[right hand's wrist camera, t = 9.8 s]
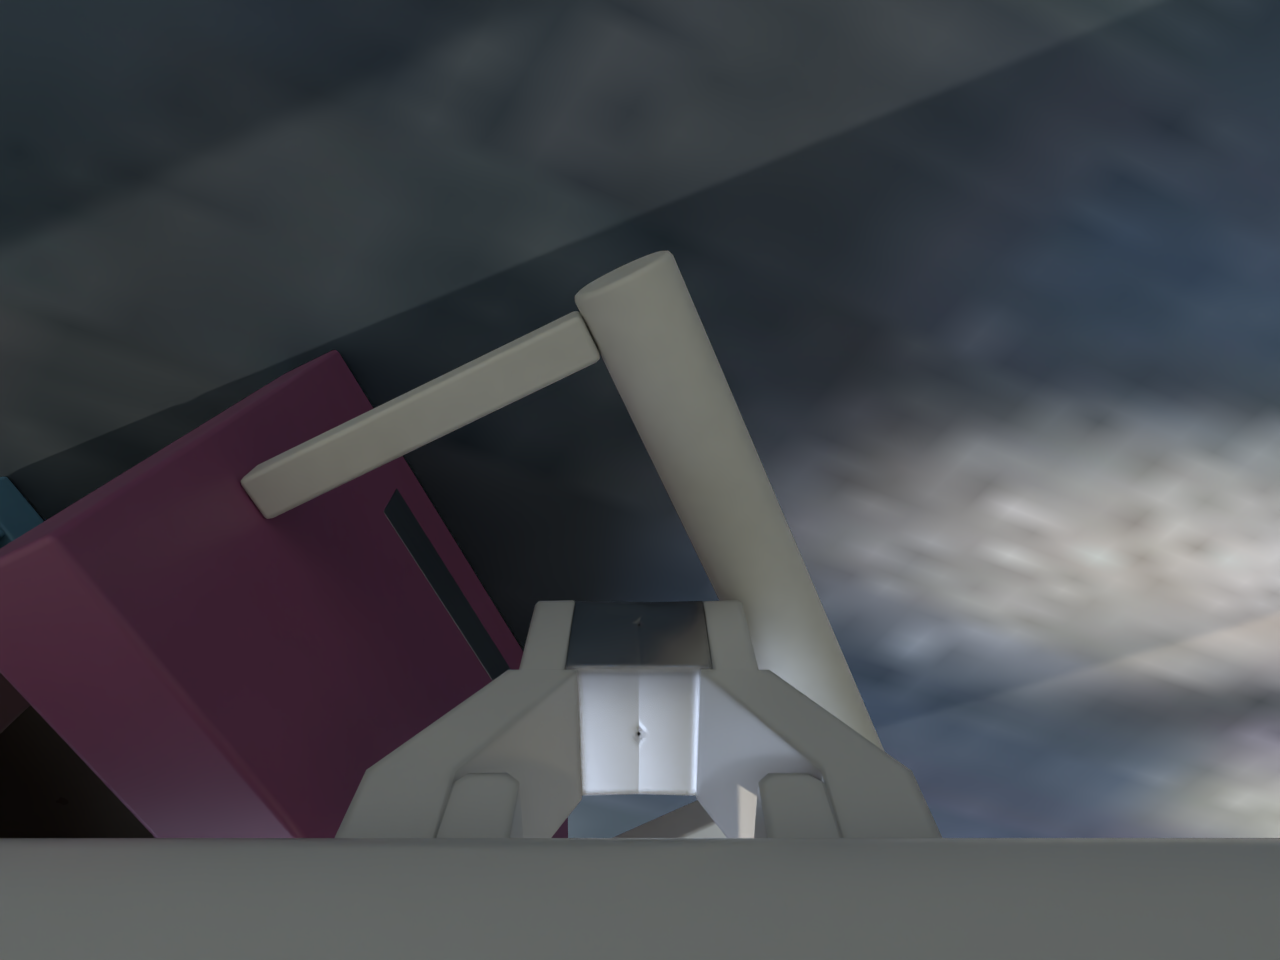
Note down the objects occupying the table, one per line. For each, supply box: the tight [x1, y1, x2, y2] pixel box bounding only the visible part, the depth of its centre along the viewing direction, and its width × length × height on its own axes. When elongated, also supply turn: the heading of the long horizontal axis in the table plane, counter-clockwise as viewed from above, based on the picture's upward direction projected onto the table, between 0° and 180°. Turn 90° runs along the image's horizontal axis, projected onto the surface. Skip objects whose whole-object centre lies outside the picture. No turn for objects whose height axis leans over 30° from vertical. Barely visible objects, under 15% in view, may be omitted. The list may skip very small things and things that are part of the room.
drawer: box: [0, 251, 884, 838], centre depth 12 cm, size 22×10×9 cm, turn 115°
